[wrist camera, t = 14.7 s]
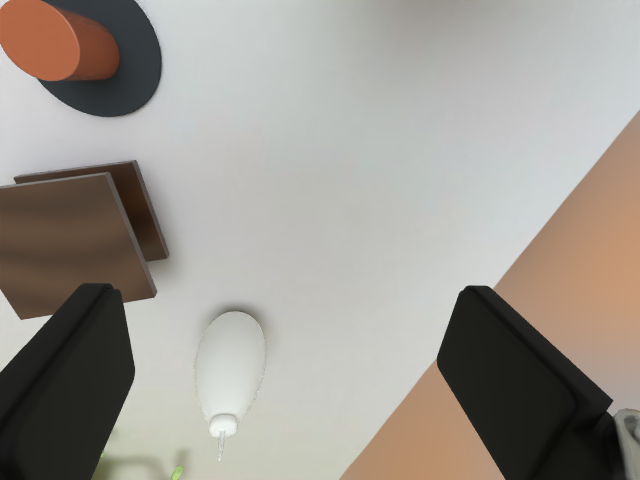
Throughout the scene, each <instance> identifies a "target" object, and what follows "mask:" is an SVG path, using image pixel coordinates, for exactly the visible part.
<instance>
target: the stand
mask: <svg viewBox="0 0 640 480" xmlns="http://www.w3.org/2000/svg"><path fill="white" fill-rule="evenodd" d="M14 180H15V182H16V184H14V185H7V186H0V289H1V291H2V292H3V294H4V295H5V297H6V298H7V300H8V301H9V303H10V304H11V306H12V308H13V309H14V311H15V312H16V314H17V315H18V317H19V318H20V319H21V320H24V319H30V318H36V317H41V316H47V315H53V314H54V313H55V312H56V311H57V310H58V309H59V308H60V307H61V306H62V305H63V303H64V302H65V301H66V300H67V299H68V298H69V297H70V296H71V295H72V293H73V292H74V291H75V290H76V289H77V288H78V287H79V286H80V285H81V284H83V283H110V284H112V286H113V288H114V289H119V290H120V291H121V294H122V300H123V303H125V302H131V301H137V300H143V299H149V298H154V297H155V296H156V294H157V289H156V287H155V284H154V282H153V279H152V277H151V274H150V272H149V269H148V267H147V264H146V262H147V261H153V260H160V259H166V258H168V256H169V252H168V249H167V246H166V243H165V241H164V238H163V235H162V232H161V229H160V227H159V224H158V221H157V218H156V215H155V213H154V210H153V207H152V204H151V201H150V199H149V196H148V193H147V190H146V187H145V184H144V182H143V179H142V176H141V173H140V170H139V168H138V165H137V162H136V160H133V161H125V162H117V163H110V164H102V165H94V166H86V167H79V168H71V169H63V170H56V171H48V172H40V173H32V174H25V175H19V176H16V177H14Z"/></svg>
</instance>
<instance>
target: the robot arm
mask: <svg viewBox="0 0 640 480" xmlns="http://www.w3.org/2000/svg"><path fill="white" fill-rule="evenodd" d="M437 365H438V368H439V370H440V372H441V373H442V375H443V377H444V379H445V380H446V382H447V383H448V385H449V387H450V388H451V390H452V392H453V393H454V395H455V397H456V398H457V400H458V402H459V403H460V405H461V407H462V408H463V410H464V412H465V413H466V415H467V417H468V418H469V420H470V422H471V423H472V425H473V427H474V428H475V430H476V431H477V433H478V435H479V436H480V438H481V440H482V441H483V443H484V445H485V446H486V448H487V450H488V451H489V453H490V455H491V456H492V458H493V460H494V461H495V463H496V465H497V466H498V468H499V470H500V471H501V473H502V475H503V476H504V478H505V480H640V411H638V410H633V409H622V410H619V411H618V412H617V413H616V414H615V415H614V417H612V416H611V415H610V414H609V413H608V412H607V409H608V407H609V406H610V405H611V403H612V401H613V400H612V399H611V398H610V397H609V396H608V395H607V394H606V393H605V392H603V391H602V390H601V389H600V388H599V387H598V386H597V385H596V384H595V383H594V382H593V381H592V380H590V379H589V378H588V377H587V376H586V375H585V374H584V373H583V372H582V371H581V370H580V369H579V368H577V367H576V366H575V365H574V364H573V363H572V362H571V361H570V360H569V359H568V358H566V357H565V356H564V355H563V354H562V353H561V352H560V351H559V350H558V349H557V348H556V347H555V346H553V345H552V344H551V343H550V342H549V341H548V340H547V339H546V338H545V337H544V336H543V335H541V334H540V333H539V332H538V331H537V330H536V329H535V328H534V327H533V326H532V325H530V324H529V323H528V322H527V321H526V320H525V319H524V318H523V317H522V316H521V315H520V314H519V313H517V312H516V311H515V310H514V309H513V308H512V307H511V306H510V305H509V304H508V303H507V302H506V301H504V300H503V299H502V298H501V297H500V296H499V295H498V294H497V293H496V292H495V291H493V290H492V289H491V288H490V287H488V286H466V287H465V288H464V290H463V291H461V292H460V293H459V295H458V298H457V301H456V304H455V307H454V310H453V312H452V315H451V318H450V321H449V324H448V327H447V330H446V333H445V335H444V338H443V341H442V344H441V347H440V350H439V353H438V356H437ZM134 376H135V366H134V360H133V355H132V349H131V344H130V338H129V333H128V327H127V322H126V316H125V311H124V305H123V300H122V294H121V291H120V290H119V289H114V288H113V286H112V284H110V283H83V284H81V285H80V286H79V287H78V288H77V289H76V290H75V291H74V292H73V293H72V295H71V296H70V297H69V298H68V299H67V300H66V301H65V302H64V303H63V305H62V306H61V307H60V308H59V309H58V310H57V311H56V312H55V313H54V315H53V316H52V317H51V318H50V319H49V320H48V321H47V322H46V323H45V324H44V326H43V327H42V328H41V329H40V330H39V331H38V332H37V333H36V334H35V336H34V337H33V338H32V339H31V340H30V341H29V342H28V343H27V344H26V345H25V346H24V347H23V348H22V349H21V350H20V351H19V352H18V354H17V355H16V356H15V357H14V358H13V359H12V360H11V361H10V362H9V363H8V365H7V366H6V367H5V368H4V369H3V370H2V371H1V372H0V480H91V477H92V475H93V473H94V471H95V468H96V466H97V464H98V461H99V459H100V457H101V455H102V452H103V450H104V448H105V445H106V443H107V441H108V438H109V436H110V434H111V432H112V429H113V427H114V425H115V422H116V420H117V418H118V416H119V413H120V411H121V409H122V406H123V404H124V402H125V400H126V397H127V395H128V393H129V390H130V388H131V386H132V383H133V380H134Z"/></svg>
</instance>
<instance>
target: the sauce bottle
mask: <svg viewBox="0 0 640 480" xmlns="http://www.w3.org/2000/svg"><path fill="white" fill-rule="evenodd" d="M265 362H266V346H265V339H264V335H263V333H262V330H261V328H260V326H259V324H258V323H257V322H256V320H255V319H254V318H253V317H251V316H250V315H248V314H246V313H243V312H237V311H233V312H227V313H224V314H222V315H220V316H218V317H217V318H216V319H215V320H213V321H212V322H211V324H210V325H209V326H208V327H207V329H206V330H205V332H204V334H203V336H202V338H201V340H200V342H199V345H198V349H197V353H196V358H195V365H194V383H195V391H196V396H197V400H198V403H199V407H200V409H201V412H202V414H203V416H204V418H205V419H206V421H207V422H208V423H209V432H210V434H211V435H212V436H214V437H218V438H219V447H218V460H219V461H220V459H221V456H222V452H223V446H224V439H225V437H229V436H231V435H233V434H234V433H235V432H236V430H237V427H238V423H239V422H240V421H241V420H242V419H243V418H244V417H245V415H246V414H247V412H248V411H249V409H250V407H251V406H252V404H253V402H254V400H255V398H256V396H257V393H258V391H259V388H260V385H261V382H262V379H263V375H264V370H265Z"/></svg>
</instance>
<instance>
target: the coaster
mask: <svg viewBox="0 0 640 480" xmlns="http://www.w3.org/2000/svg"><path fill="white" fill-rule="evenodd" d="M41 1H44V2H47V3H49V4H52V5H55V6H58V7H61V8H63V9H66V10H69V11H72V12H75V13H77V14H80V15H83V16H86V17H89V18H91V19H93V20H96V21H97V22H99V23H100V24H102V25H103V26H104V27H105V28H106V29H107V30H108V31H109V32H110V33H111V35H112V36H113V38H114V39H115V41H116V43H117V46H118V49H119V55H120V60H119V66H118V68H117V70H116V72H115V73H114V74H113V75H112V76H111V77H109V78H108V79H105V80H102V81H47V80H42V79H38V78H37V79H38V80H39V81H40V83H41V84H42V85H43V86H44V87H45V88H46V89H47V90H48V91H49V92H50V93H52V94H53V95H54V96H55V97H57V98H58V99H59V100H61V101H62V102H64V103H65V104H67V105H69V106H71V107H72V108H74V109H76V110H79V111H82V112H84V113H87V114H91V115H96V116H102V117H113V116H120V115H124V114H128V113H131V112H133V111H135V110H137V109H139V108H140V107H142V106H143V105H144V104H145V103H147V102H148V100H149V99H150V98H151V97H152V95H153V94H154V92H155V90H156V88H157V86H158V83H159V79H160V75H161V53H160V47H159V43H158V39H157V37H156V34H155V32H154V29H153V27H152V25H151V23H150V21H149V20H148V18H147V16H146V15H145V13H144V12H143V10H142V9H141V8H140V7H139V5H138V4H137V3H136V2H135V1H134V0H41Z"/></svg>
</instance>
